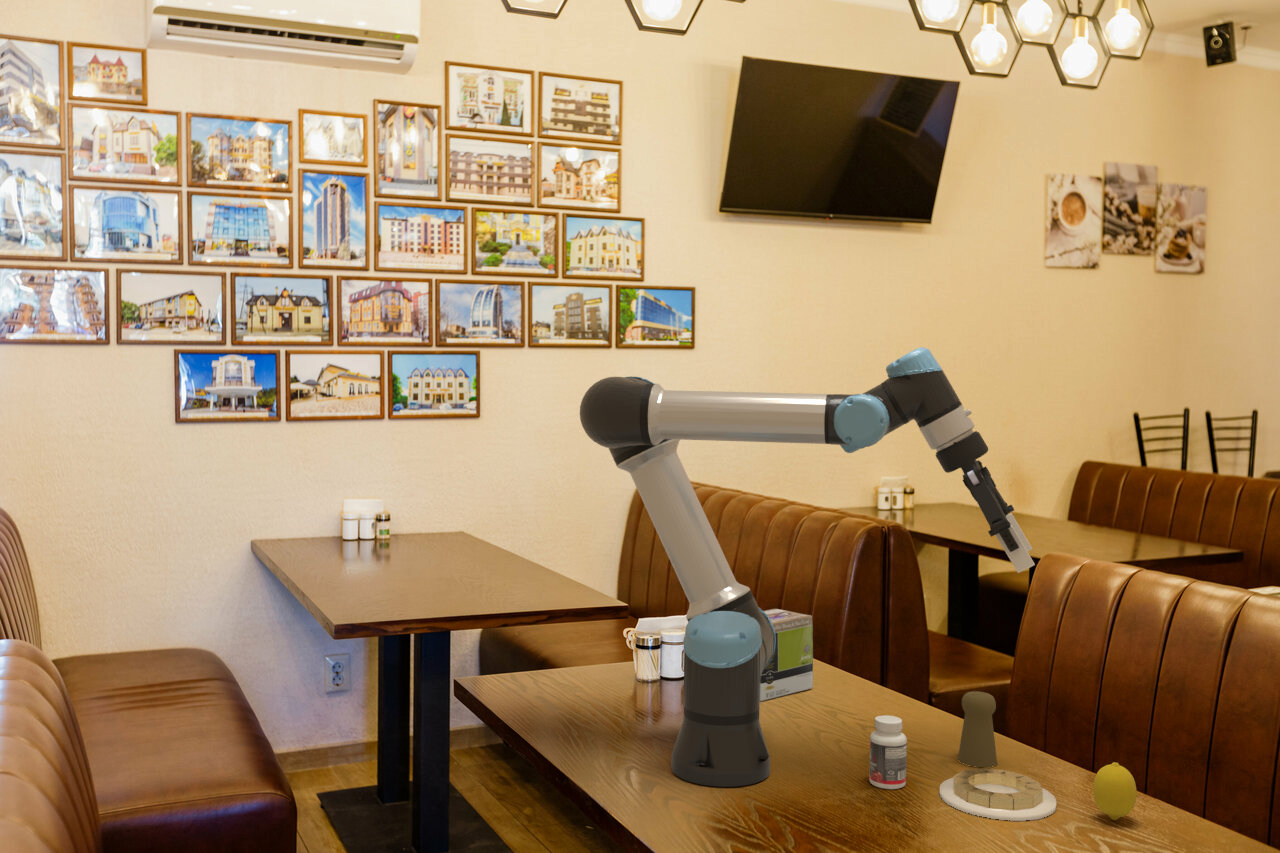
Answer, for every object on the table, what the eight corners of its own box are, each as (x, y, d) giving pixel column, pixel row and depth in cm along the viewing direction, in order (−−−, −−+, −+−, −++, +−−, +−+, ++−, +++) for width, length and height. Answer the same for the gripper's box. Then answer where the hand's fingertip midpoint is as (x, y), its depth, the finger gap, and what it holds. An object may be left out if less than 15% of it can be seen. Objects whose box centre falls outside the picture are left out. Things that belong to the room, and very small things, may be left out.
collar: (986, 813, 153) (986, 802, 153) (937, 783, 164) (937, 772, 164) (1059, 804, 156) (1059, 793, 156) (1007, 776, 168) (1007, 765, 168)
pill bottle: (862, 778, 168) (864, 714, 168) (895, 776, 169) (896, 712, 169) (879, 791, 163) (880, 725, 163) (912, 788, 164) (913, 723, 164)
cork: (966, 752, 181) (968, 685, 181) (1003, 761, 177) (1004, 692, 177) (951, 762, 176) (952, 693, 176) (988, 770, 172) (990, 700, 172)
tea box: (776, 679, 226) (777, 606, 225) (814, 690, 218) (815, 615, 217) (722, 691, 216) (724, 615, 215) (760, 703, 208) (761, 624, 208)
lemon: (1085, 819, 153) (1087, 762, 153) (1102, 809, 157) (1103, 753, 157) (1126, 831, 149) (1127, 772, 149) (1142, 820, 153) (1144, 763, 153)
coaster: (982, 826, 150) (982, 820, 150) (918, 785, 165) (918, 780, 165) (1081, 814, 155) (1081, 808, 155) (1009, 775, 170) (1010, 770, 170)
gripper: (974, 434, 161) (1051, 564, 159) (978, 423, 184) (1045, 536, 182) (928, 459, 163) (1003, 587, 161) (937, 445, 187) (1003, 557, 185)
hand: (1025, 560), depth 172 cm, fingers open, 13 cm apart
